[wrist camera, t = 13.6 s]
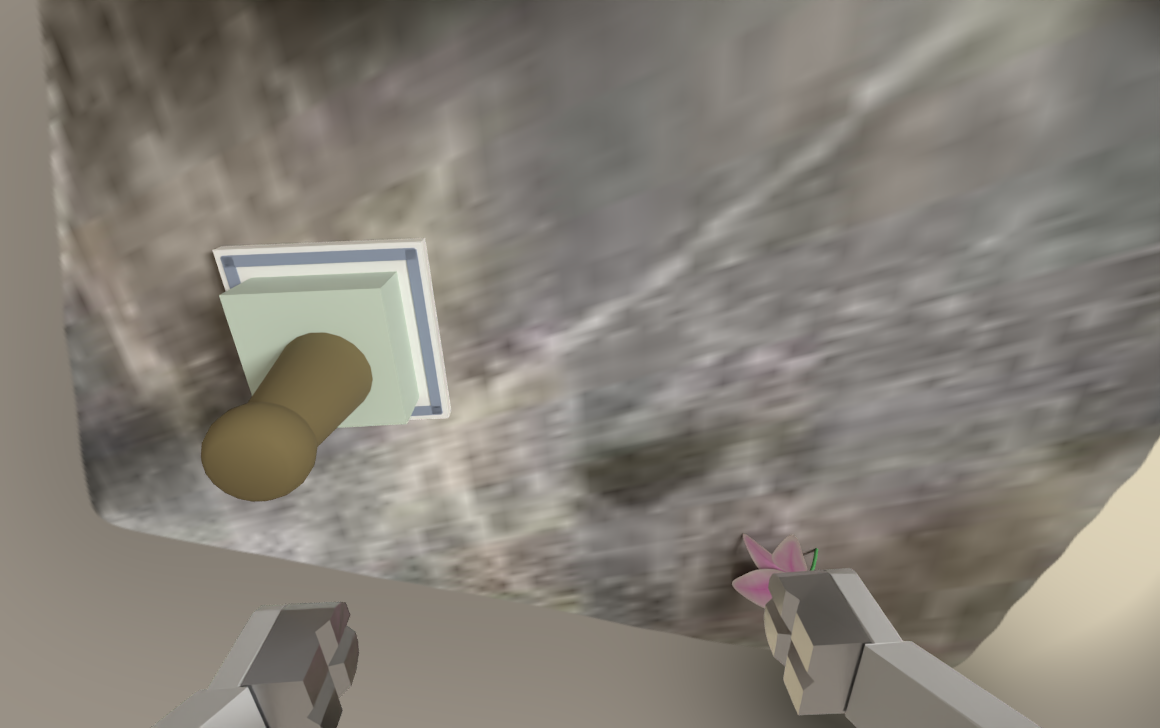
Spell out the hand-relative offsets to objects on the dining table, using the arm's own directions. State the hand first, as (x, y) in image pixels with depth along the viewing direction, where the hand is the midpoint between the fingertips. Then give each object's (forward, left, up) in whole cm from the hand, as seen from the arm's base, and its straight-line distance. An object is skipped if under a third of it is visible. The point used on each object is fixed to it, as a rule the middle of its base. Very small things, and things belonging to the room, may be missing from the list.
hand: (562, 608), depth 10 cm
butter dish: (+6, -16, -31) cm, 35 cm away
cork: (+7, -16, -26) cm, 31 cm away
